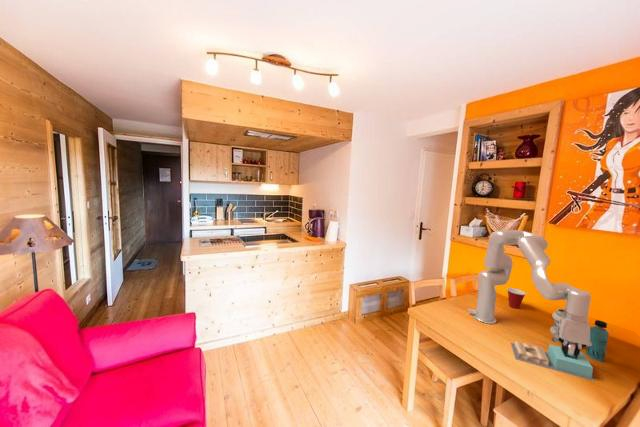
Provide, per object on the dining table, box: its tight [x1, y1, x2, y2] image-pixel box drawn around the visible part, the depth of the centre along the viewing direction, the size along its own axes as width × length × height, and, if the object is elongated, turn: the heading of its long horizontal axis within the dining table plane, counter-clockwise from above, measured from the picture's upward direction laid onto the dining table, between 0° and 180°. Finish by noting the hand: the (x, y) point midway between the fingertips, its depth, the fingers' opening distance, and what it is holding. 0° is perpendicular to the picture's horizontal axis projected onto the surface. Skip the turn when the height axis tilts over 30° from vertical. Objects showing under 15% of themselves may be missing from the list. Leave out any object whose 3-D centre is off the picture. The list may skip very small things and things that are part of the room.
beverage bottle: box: [585, 319, 610, 362], centre depth 127 cm, size 6×7×20 cm
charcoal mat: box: [510, 342, 597, 382], centre depth 125 cm, size 28×15×2 cm, turn 62°
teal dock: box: [547, 344, 594, 378], centre depth 121 cm, size 12×12×5 cm
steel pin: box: [565, 341, 576, 359], centre depth 121 cm, size 3×3×9 cm
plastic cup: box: [506, 287, 527, 310], centre depth 182 cm, size 11×11×12 cm
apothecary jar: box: [549, 308, 565, 345], centre depth 140 cm, size 12×12×18 cm
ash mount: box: [514, 340, 549, 366], centre depth 128 cm, size 11×11×2 cm
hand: (569, 353), depth 121 cm, fingers closed on steel pin, 3 cm apart
